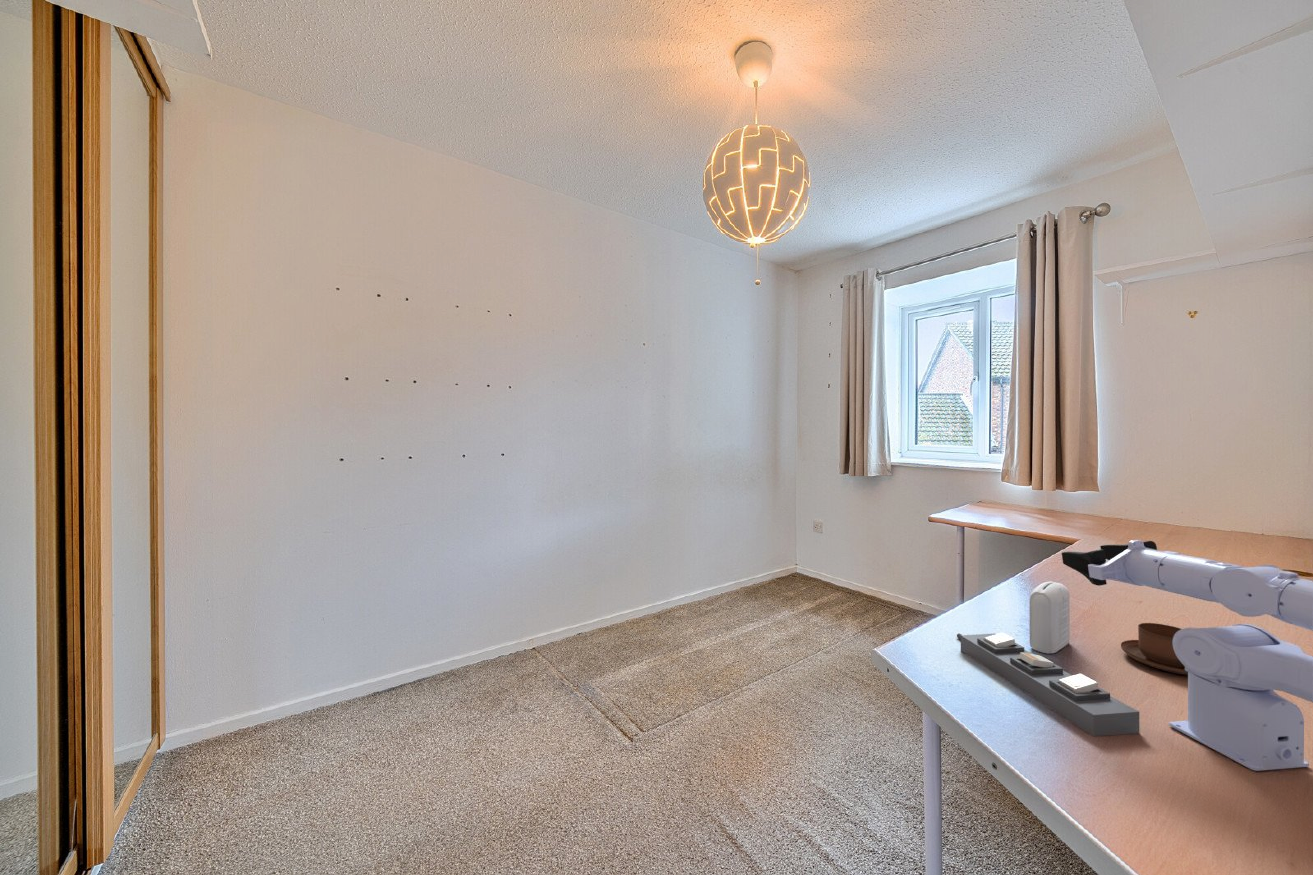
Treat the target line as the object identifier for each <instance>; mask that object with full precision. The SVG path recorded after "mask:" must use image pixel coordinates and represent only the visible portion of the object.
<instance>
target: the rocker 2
mask: <svg viewBox="0 0 1313 875" xmlns="http://www.w3.org/2000/svg"><path fill="white" fill-rule="evenodd" d="M1059 681H1060V684H1061V685H1062V686H1064V687H1066V688H1068V689H1069V690H1071V691H1073V692H1075V693H1086V692H1089V691H1093V690H1096V689H1098V687H1099V686H1098V685H1099V684H1098V682H1097V681H1095V680H1093V679H1091V678H1090V677H1088V676H1086V675H1084V674H1082V673H1078V674H1074V675H1072V676H1070V677H1067V678H1063V679H1060V680H1059Z"/></svg>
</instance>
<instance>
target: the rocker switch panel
mask: <svg viewBox="0 0 1313 875" xmlns="http://www.w3.org/2000/svg"><path fill="white" fill-rule="evenodd" d="M996 634H997V633H995V632H993V633H980V634H979V633H977V634H961V633H957V634H956V638H957V639H959V640H960V652H962V653H963V654H965V655H967V656H968V657H970V658H972V659H973V660H975V661H976V662H977V663H979V664H981V665H982V666H984V667H985V668H987V669H989V670H990V672H993V673H994V674H996V675H998V676H999V677H1000V678H1002V679H1004V680H1006V681H1007V682H1009V683H1010V684H1012V685H1013V686H1015V687H1016V688H1018V689H1019V690H1021V691H1023V692H1024V693H1025V694H1027V695H1029V696H1031V697H1032V698H1033V699H1034V700H1037V701H1038V702H1040V703H1041V704H1042V705H1044V706H1045V707H1047V708H1049V709H1050V710H1052V711H1054V712H1056V714H1058V715H1059V716H1061V717H1063V718H1064V719H1066V720H1068V721H1069V722H1071V723H1072V724H1073V725H1075V726H1077V727H1078V728H1080V729H1082V730H1083V731H1084V732H1086V733H1088V735H1091V736H1092V737H1104V736H1114V735H1116V736H1117V735H1130V734H1139V733H1140V711H1139V710H1138V709H1135V708H1133V707H1131V706H1129V705H1128V704H1126V703H1124V702H1122V701H1120V700H1119V699H1117V698H1115V697H1113V696H1111V693H1110V692H1108V691H1107V690H1105V689H1102V688H1100V687H1099V686H1098V689H1096V690H1093V691H1089V692H1086V693H1075V692H1073V691H1071V690H1069V689H1068V688H1066V687H1064V686H1062V685H1061V684H1060V681H1059V680H1060V679H1063V678H1067V677H1070V676H1073V675H1072V674H1070V673H1068V672H1067V671H1064V668H1063V667H1061V666H1059V665H1057V664H1056V663H1054V664H1053V667H1038V666H1032V665H1031V664H1029V663H1027V662H1025V661H1024V660H1022V659H1020V658H1019V657H1020V652H1022V653H1028V654H1033V653H1032V652H1030V651H1028V650H1026V649H1025V647H1024V646H1023V645H1020V644H1019V643H1016V642H1015V644H1014V645H1010V646H1007V647H995V646H993V645H991V644H989V643H988V642H986V641H985V637H989V636H992V635H996Z"/></svg>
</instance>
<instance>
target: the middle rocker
mask: <svg viewBox="0 0 1313 875" xmlns="http://www.w3.org/2000/svg"><path fill="white" fill-rule="evenodd" d="M1019 658H1020V659H1022V660H1024V661H1025V662H1027V663H1029V664H1031V665H1032V666H1038V667H1053V664H1055V662H1053V661H1051V660H1049V659H1047V658H1045V657H1044V656H1042V655H1039V654H1033V653H1032V654H1028V653H1022V652H1020V657H1019Z"/></svg>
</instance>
